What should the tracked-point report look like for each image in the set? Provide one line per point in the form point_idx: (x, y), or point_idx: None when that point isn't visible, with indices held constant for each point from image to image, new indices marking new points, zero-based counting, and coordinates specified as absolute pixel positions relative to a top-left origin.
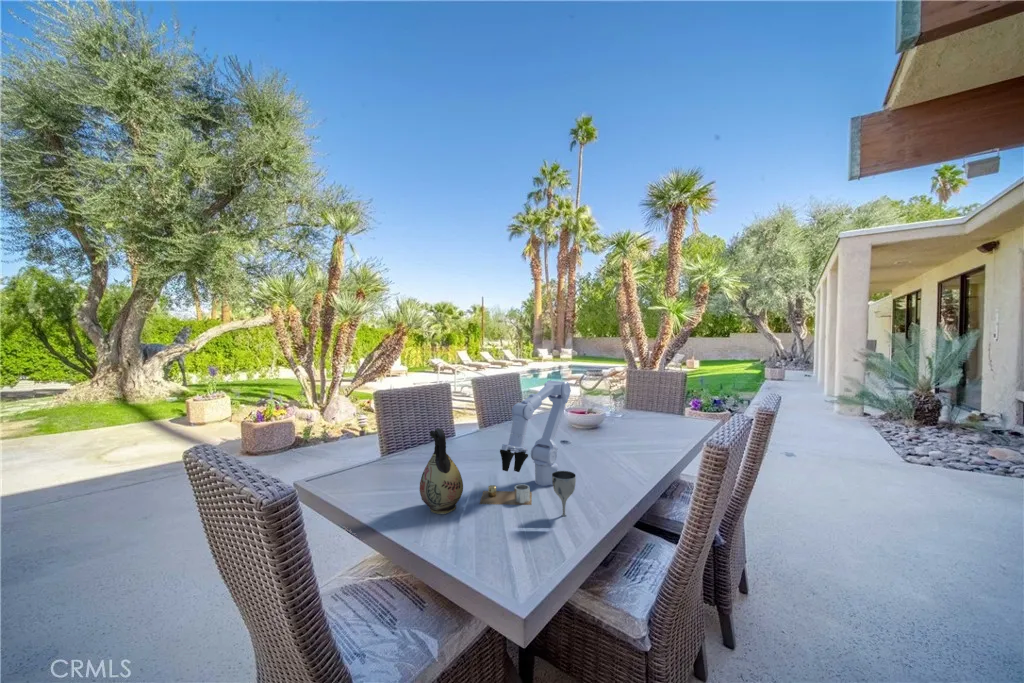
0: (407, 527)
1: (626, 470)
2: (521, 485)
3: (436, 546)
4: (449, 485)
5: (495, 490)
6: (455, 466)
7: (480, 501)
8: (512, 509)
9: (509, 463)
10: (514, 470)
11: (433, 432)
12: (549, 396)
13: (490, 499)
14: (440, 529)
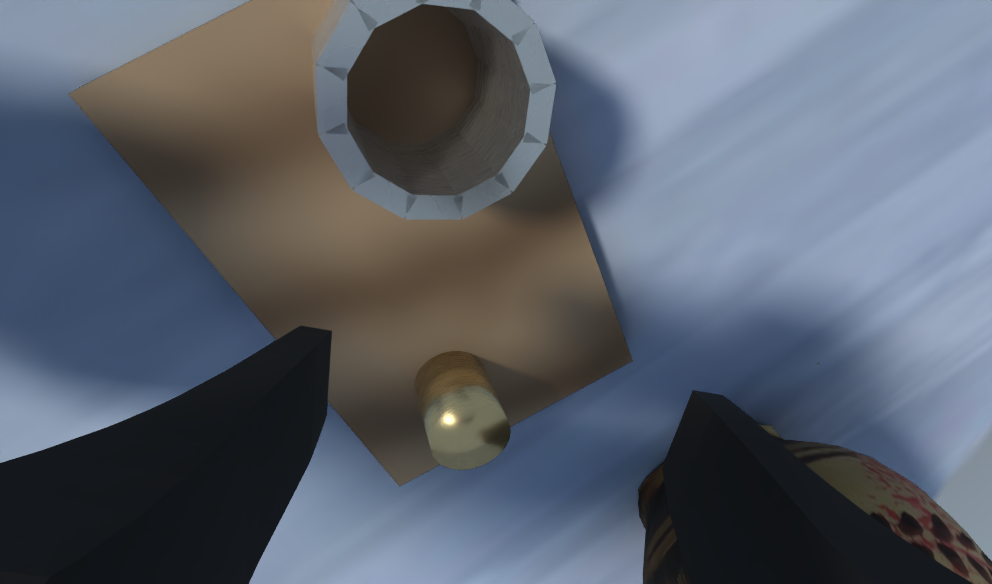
0: (909, 452)
1: None
2: (364, 159)
3: None
4: (980, 558)
5: (468, 386)
6: None
7: (590, 381)
8: (577, 90)
9: (804, 482)
10: (325, 414)
11: None
12: None
13: (526, 348)
14: (926, 332)
